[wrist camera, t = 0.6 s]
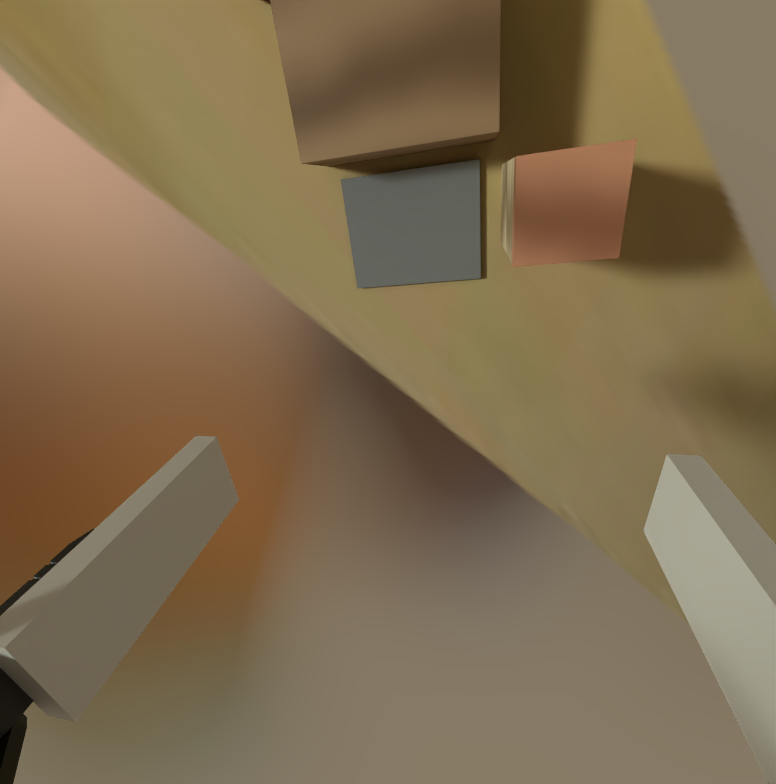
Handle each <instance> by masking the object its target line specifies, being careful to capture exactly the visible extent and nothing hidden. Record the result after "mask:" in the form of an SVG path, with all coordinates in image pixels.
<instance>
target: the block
mask: <svg viewBox="0 0 776 784" xmlns="http://www.w3.org/2000/svg"><path fill="white" fill-rule="evenodd" d="M636 143H637V139H630V140H623V141H616V142H609V143H603V144H596V145H589V146H582V147H575V148H569V149H562V150H555V151H548V152H541V153H534V154H528V155H521V156H516V157H514V158H512V159H511V160H509V161H507V162H506V163H504V164H502V201H501V243H502V245H503V247H504V249H505V251H506V253H507V255H508V257H509V259H510V261H511V263H512V265H513V267H520V266H531V265H543V264H555V263H567V262H578V261H590V260H602V259H613V258H619V256H620V249H621V242H622V236H623V229H624V222H625V216H626V209H627V202H628V196H629V189H630V182H631V176H632V169H633V163H634V156H635V149H636Z"/></svg>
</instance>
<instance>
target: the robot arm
mask: <svg viewBox="0 0 776 784" xmlns="http://www.w3.org/2000/svg"><path fill="white" fill-rule="evenodd" d="M238 500H239V499H238V496H237V493H236V490H235V487H234V485H233V482H232V479H231V476H230V473H229V471H228V468H227V465H226V462H225V460H224V457H223V454H222V451H221V448H220V445H219V443H218V440H217V437H208V436H196V437H194V439H192V440H191V441H190V442H189V443H188V444H187V445H186V446H185V447H184V448H183V449H181V450H180V451H179V452H178V453H177V454H176V455H175V456H174V457H173V458H172V459H171V460H169V461H168V462H167V463H166V464H165V465H164V466H163V467H162V468H161V469H160V470H159V471H158V472H156V473H155V474H154V475H153V476H152V477H151V478H150V479H149V480H148V481H147V482H146V483H144V484H143V485H142V486H141V487H140V488H139V489H138V490H137V491H136V492H135V493H134V494H132V495H131V496H130V497H129V498H128V499H127V500H126V501H125V502H124V503H123V504H122V505H121V506H120V507H118V508H117V509H116V510H115V511H114V512H113V513H112V514H111V515H110V516H109V517H108V518H106V519H105V520H104V521H103V522H102V523H101V524H100V525H99V526H98V527H97V528H95V529H92V530H91V531H89V532H87V533H86V534H84V535H83V536H81V537H79V538H78V539H76V540H75V541H73V542H72V543H70V544H69V545H68V546H67V547H66V548H65V549H63V550H62V551H61V552H60V553H59V554H58V555H57V556H56V557H54V558H53V559H52V560H51V561H50V564H49V565H45V566H44V567H43V568H42V569H41V570H40V571H39V572H38V573H37V574H36V575H34V578H33V580H29V581H28V582H27V583H26V584H25V585H23V586H22V587H21V588H20V589H19V590H18V591H17V592H15V593H14V594H13V595H12V596H11V597H10V598H9V599H8V600H7V601H5V602H4V603H3V604H2V605H1V606H0V784H13V782H14V778H15V773H16V769H17V765H18V761H19V757H20V753H21V749H22V745H23V741H24V737H25V733H26V729H27V717H26V716H25V715H24V714H23V713H24V711H25V710H26V709H27V708H28V707H29V705H30V704H31V703H32V702H34V703H36V704H37V705H38V707H40V708H41V710H43V711H44V712H45V713H46V714H47V715H48V716H53V717H57V718H61V719H66V720H70V721H74V722H76V721H77V720H78V718H79V717H80V716H81V714H82V713H83V712H84V710H85V709H86V707H87V706H88V705H89V703H90V702H91V701H92V699H93V698H94V697H95V695H96V694H97V692H98V691H99V690H100V688H101V687H102V686H103V684H104V683H105V681H106V680H107V679H108V678H109V676H110V675H111V673H112V672H113V671H114V669H115V668H116V667H117V665H118V664H119V663H120V661H121V660H122V658H123V657H124V656H125V654H126V653H127V652H128V650H129V649H130V648H131V646H132V645H133V643H134V642H135V641H136V639H137V638H138V637H139V635H140V634H141V633H142V631H143V630H144V628H145V627H146V626H147V624H148V623H149V622H150V620H151V619H152V617H153V616H154V615H155V614H156V612H157V611H158V609H159V608H160V607H161V605H162V604H163V602H164V601H165V600H166V599H167V597H168V596H169V594H170V593H171V592H172V590H173V589H174V588H175V586H176V585H177V584H178V582H179V581H180V579H181V578H182V577H183V575H184V574H185V572H186V571H187V570H188V569H189V567H190V566H191V564H192V563H193V562H194V560H195V559H196V558H197V556H198V555H199V553H200V552H201V551H202V549H203V548H204V547H205V545H206V544H207V543H208V541H209V540H210V539H211V537H212V536H213V534H214V533H215V532H216V530H217V529H218V527H219V526H220V525H221V524H222V522H223V521H224V520H225V518H226V517H227V515H228V514H229V513H230V511H231V510H232V508H233V507H234V506H235V505H236V503H237V502H238ZM644 533H645V535H646V537H647V539H648V541H649V543H650V545H651V547H652V549H653V551H654V553H655V555H656V557H657V559H658V561H659V563H660V565H661V567H662V569H663V571H664V573H665V575H666V578H667V580H668V582H669V584H670V586H671V588H672V590H673V592H674V594H675V596H676V598H677V600H678V602H679V604H680V606H681V608H682V610H683V612H684V614H685V616H686V618H687V620H688V622H689V624H690V626H691V628H692V630H693V632H694V634H695V636H696V638H697V640H698V642H699V645H700V647H701V649H702V651H703V653H704V655H705V657H706V659H707V661H708V663H709V665H710V667H711V669H712V671H713V673H714V675H715V677H716V679H717V681H718V683H719V685H720V687H721V689H722V691H723V693H724V695H725V697H726V699H727V701H728V703H729V705H730V707H731V710H732V712H733V714H734V715H735V717H736V720H737V722H738V724H739V726H740V728H741V730H742V732H743V734H744V736H745V738H746V740H747V742H748V744H749V746H750V748H751V750H752V752H753V754H754V756H755V758H756V760H757V762H758V764H759V766H760V768H761V770H762V772H763V774H764V776H765V779H766V781H767V783H768V784H776V544H775V543H774V542H773V541H772V540H771V538H770V537H769V536H768V535H767V534H766V533H765V531H764V530H763V529H762V528H761V527H760V525H759V524H758V523H757V522H756V521H755V519H754V518H753V517H752V516H751V515H750V513H749V512H748V511H747V510H746V509H745V507H744V506H743V505H742V504H741V503H740V502H739V500H738V499H737V498H736V497H735V496H734V494H733V493H732V492H731V491H730V490H729V488H728V487H727V486H726V485H725V484H724V482H723V481H722V480H721V479H720V478H719V476H718V475H717V474H716V473H715V472H714V471H713V469H712V468H711V467H710V466H709V465H708V463H707V462H706V461H705V460H704V459H703V457H702V456H697V455H671V454H667V456H666V459H665V462H664V465H663V469H662V472H661V475H660V478H659V482H658V485H657V488H656V491H655V495H654V498H653V501H652V505H651V508H650V511H649V514H648V518H647V521H646V524H645V527H644Z"/></svg>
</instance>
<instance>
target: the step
mask: <svg viewBox="0 0 776 784" xmlns="http://www.w3.org/2000/svg"><path fill="white" fill-rule="evenodd" d="M270 3H271V8H272V13H273V18H274V23H275V29H276V34H277V39H278V44H279V49H280V54H281V60H282V65H283V70H284V75H285V80H286V86H287V91H288V96H289V101H290V106H291V111H292V117H293V122H294V127H295V132H296V137H297V143H298V148H299V153H300V158H301V163H302V164H311V165H320V166H333V165H339V164H345V163H352V162H358V161H364V160H371V159H377V158H383V157H390V156H396V155H402V154H409V153H415V152H421V151H428V150H434V149H441V148H447V147H453V146H460V145H466V144H472V143H479V142H485V141H491V140H495V139H496V137H497V135H498V133H499V113H500V24H501V0H270Z"/></svg>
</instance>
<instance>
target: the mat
mask: <svg viewBox="0 0 776 784" xmlns="http://www.w3.org/2000/svg"><path fill="white" fill-rule="evenodd" d="M341 184H342V190H343V197H344V203H345V210H346V216H347V223H348V229H349V236H350V242H351V249H352V255H353V261H354V268H355V274H356V281H357V287H358V288H367V287H380V286H392V285H405V284H417V283H430V282H442V281H455V280H467V279H479V278H481V252H480V159H477V160H470V161H464V162H457V163H450V164H443V165H437V166H430V167H423V168H416V169H410V170H403V171H396V172H389V173H383V174H376V175H369V176H362V177H356V178H349V179H342V180H341Z"/></svg>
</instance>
